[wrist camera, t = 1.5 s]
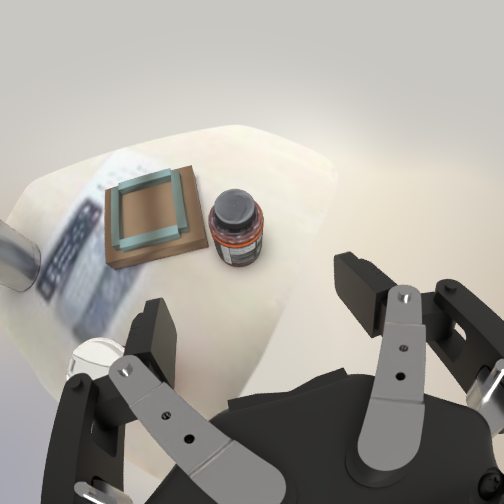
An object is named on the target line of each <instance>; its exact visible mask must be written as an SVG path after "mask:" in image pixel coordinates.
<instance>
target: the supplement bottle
mask: <svg viewBox="0 0 504 504" xmlns="http://www.w3.org/2000/svg"><path fill="white" fill-rule="evenodd" d="M208 221H209V227H210V231H211V234H212V237H213V240H214V243H215V246H216V249H217V252H218V254H219V256H220V257H221V259H222V260H223V261H224V262H226V263H227V264H229V265H232V266H237V267H240V266H246V265H248V264H250V263H252V262H253V261H254V260H255V259H256V258H257V257H258V255H259V253H260V250H261V245H262V235H263V223H264V218H263V213H262V210H261V208H260V207H259V205H258V204H257V203H256V202H255V201H254V200H253V198H252V197H251V195H250V194H249V193H247V192H245V191H243V190H240V189H231V190H227V191H225V192H223V193H221V194H220V195H219V196H218V198H217V199H216V201H215V205H214V206H213V207H212V209H211V211H210V213H209V220H208Z"/></svg>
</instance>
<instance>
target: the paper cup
mask: <svg viewBox="0 0 504 504" xmlns="http://www.w3.org/2000/svg"><path fill="white" fill-rule="evenodd" d="M124 350H125V346H121V345H120V344H118V343H116V342H115V341H112V340H110V339H106V338H93V339H90V340H87V341H85V342H84V343H82V344H81V345H80V346H78V347H77V348H76V349H75V350H74V351H73V356H72V358H70V361H69V365H68V373H67V374H66V378H67V381H68V379H69V378H71V377H72V376H73V375H75V374H78V373H86V374H88V375H89V376H90V377H91V378H92V380H95V379H98V378H100V377H103V376H105V375H108V372H109V368H110V366H111V365H112V363H113V362H114V361H116V360H117V359H118V358H120V357H123V354H124Z"/></svg>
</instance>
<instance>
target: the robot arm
mask: <svg viewBox="0 0 504 504" xmlns="http://www.w3.org/2000/svg"><path fill="white" fill-rule="evenodd" d="M39 267H40V252H39V249H38V247H37V246H36V244H34V243H33V242H31V241H30V240H28V239H27V238H26V237H24V236H23V235H21V234H20V233H18V232H17V231H16V230H14V229H13V228H11V227H10V226H9V225H7V224H6V223H4V222H3V221H2V220H0V284H2V285H4V286H7V287H9V288H11V289H14V290H16V291H20V292H22V291H25V290H27V289H28V288H29V287H30V286H31V285H32V284H33V282H34V281H35V279H36V277H37V274H38V271H39ZM334 279H335V289H336V292H337V294H338V296H339V297H340V299H341V300H342V301H343V302H344V304H345V305H346V306H347V307H348V309H349V310H350V311H351V313H352V314H353V315H354V316H355V318H356V319H357V320H358V322H359V323H360V324H361V325H362V327H363V328H364V329H365V330H366V332H367V333H368V335H369V336H370V337H371V338H374V337H376V336H379V335H381V336H382V337H383V338H382V344H381V349H380V355H379V360H378V365H377V370H376V375H375V376H372V375H365V374H351V375H347V373H346V371H345V369H344V368H340V369H338V370H335V371H332V372H329V373H326V374H323V375H320V376H317V377H315V378H314V379H312V380H310V381H308V382H306V383H305V384H303V385H301V386H299V387H297V388H295V389H294V390H292V391H289V392H280V393H262V394H254V395H249V396H245V397H240V398H235V399H231V400H228V406H229V409H227V410H224V411H222V412H221V413H219V414H217V415H216V416H214V417H213V418H212V419H211V420H209V421H207V420H206V419H205V418H204V417H203V416H201V415H200V414H199V413H198V412H197V411H196V410H194V409H193V408H192V407H191V406H190V405H189V404H188V403H187V402H185V401H184V400H183V399H182V398H181V397H180V396H179V395H178V394H177V393H176V392H175V391H174V379H175V358H176V342H177V333H176V328H175V325H174V322H173V320H172V318H171V315H170V313H169V311H168V308H167V306H166V303H165V301H164V299H163V298H157V299H153V300H148V301H146V304H145V307H144V311H143V313H139V314H138V315H137V316H136V317H135V319H134V320H133V321H132V325H131V328H130V329H131V330H130V332H129V337H128V339H127V342H126V346H125V350H124V354H123V357H120V358H118V359H117V360H116V361H114V362H113V363H112V365H111V366H110V368H109V372H108V375H105V376H103V377H100V378H98V379H95V380H92V378H91V377H90V376H89V375H88V374H86V373H78V374H75V375H73V376H72V377H71V378H69V379H68V381H67V382H66V384H65V386H64V389H63V392H62V395H61V399H60V402H59V406H58V410H57V413H56V417H55V421H54V425H53V429H52V434H51V439H50V443H49V448H48V453H47V458H46V464H45V470H44V478H43V485H42V494H41V504H133V502H132V500H131V498H130V497H129V496H128V495H127V494H125V493H124V490H123V465H124V464H123V462H124V437H125V424H126V423H129V422H132V421H134V420H137V419H139V421H140V422H141V423H142V424H143V426H144V427H145V428H146V429H147V431H148V432H149V433H150V434H151V436H152V437H153V438H154V439H155V440H156V441H157V443H158V444H159V445H160V446H161V447H162V448H163V449H164V451H165V452H166V453H167V454H168V455H169V456H170V457H171V458H172V459H173V460H174V461H175V462H176V464H175V466H174V467H173V468H172V470H171V471H170V472H169V474H168V475H167V476H166V477H165V479H164V480H163V481H162V483H161V484H160V485H159V486H158V488H157V489H156V490H155V491H154V493H153V494H152V495H151V496H150V498H149V499H148V500H147V501H146V502H145V504H504V474H503V473H502V472H501V471H500V470H499V468H498V466H497V464H496V460H495V457H494V453H493V446H492V438H493V437H494V436H496V435H497V434H503V433H504V321H503V320H502V319H501V318H500V317H499V316H498V315H497V314H496V313H494V312H493V311H492V310H491V309H490V308H489V307H488V306H487V305H485V303H483V302H482V301H481V300H480V299H479V298H478V297H476V296H475V295H474V294H473V293H472V292H471V291H469V290H468V289H467V288H466V287H465V286H463V285H462V284H461V283H459V282H458V281H455V280H452V279H444V280H440V281H439V282H438V283H437V284H436V288H435V292H429V293H420V292H419V291H418V290H417V289H416V288H414V287H412V286H408V285H397V284H396V283H395V282H393V280H391V279H390V278H389V277H388V276H387V275H385V274H384V273H382V271H381V270H380V269H378V268H377V267H376V266H375V265H374V264H373V263H371V262H369V261H367V260H364V259H358V258H357V257H356V256H355V255H354V254H353V253H351V252H346V253H342V254H338V255H335V256H334ZM456 323H458V325H459V326H460V327H461V328H462V329H463V330H464V331H465V334H466V340H464V338H463V337H462V336H461V335H460V334H459V333H458V332H457V331H456V330H455V329H454V328H455V325H456ZM426 342H427V343H428V344H429V346H430V347H431V348H432V349H433V351H434V352H435V353H436V354H437V356H438V357H439V358H440V360H441V361H442V362H443V363H444V365H445V366H446V367H447V368H448V370H449V371H450V372H451V374H452V375H453V376H454V378H455V379H456V381H457V382H458V383H459V385H460V386H461V387H462V389H463V390H464V391H465V393H466V394H467V396H466V402H467V405H468V407H467V406H463V405H459V404H456V403H453V402H450V401H447V400H443V399H440V398H437V397H434V396H430V395H428V394H425V393H424V382H425V361H426ZM92 423H93V426H92ZM91 429H92V433H91Z"/></svg>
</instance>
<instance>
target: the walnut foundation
mask: <svg viewBox="0 0 504 504" xmlns="http://www.w3.org/2000/svg"><path fill="white" fill-rule="evenodd" d="M206 247H208V243H207V238H206V233H205V228H204V223H203V218H202V213H201V207H200V202H199V197H198V191H197V186H196V180H195V176H194V172H193V169H192V165H191V166H187V167H183V168H179V169H175V170H170V168H169V169H165V170H162V171H158V172H155V173H151V174H148V175H144V176H141V177H137V178H134V179H131V180H128V181H124V182H121V183H119V186H117V187H113V188H110V189H107V190H105V256H106V264H108V265H109V266H111V267H112V268H113V269H115V270H116V269H120V268H124V267H128V266H132V265H136V264H140V263H144V262H148V261H153V260H157V259H161V258H165V257H169V256H173V255H177V254H181V253H185V252H189V251H194V250H198V249H202V248H206Z"/></svg>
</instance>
